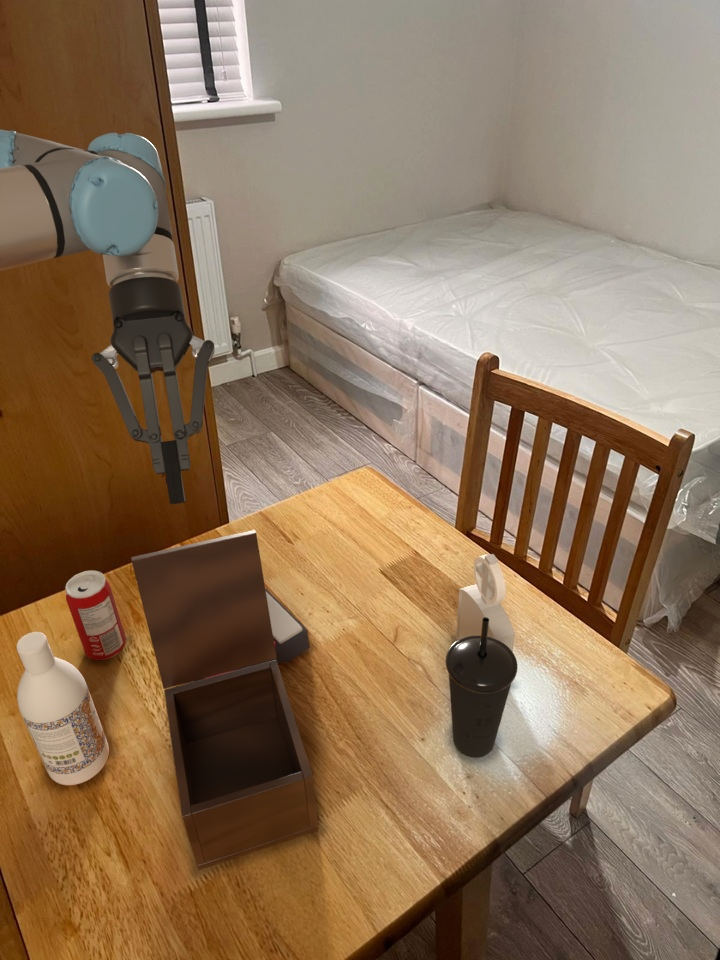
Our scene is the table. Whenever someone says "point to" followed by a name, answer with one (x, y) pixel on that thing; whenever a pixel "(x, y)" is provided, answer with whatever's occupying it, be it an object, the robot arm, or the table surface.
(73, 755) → the bath foam
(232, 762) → the chest
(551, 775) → the table surface
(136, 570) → the chest lid
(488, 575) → the gravestone
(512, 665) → the drinking cup
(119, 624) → the soda can
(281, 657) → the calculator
